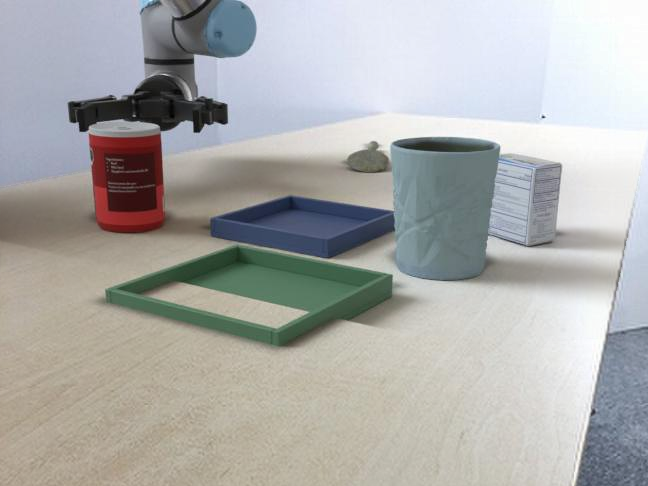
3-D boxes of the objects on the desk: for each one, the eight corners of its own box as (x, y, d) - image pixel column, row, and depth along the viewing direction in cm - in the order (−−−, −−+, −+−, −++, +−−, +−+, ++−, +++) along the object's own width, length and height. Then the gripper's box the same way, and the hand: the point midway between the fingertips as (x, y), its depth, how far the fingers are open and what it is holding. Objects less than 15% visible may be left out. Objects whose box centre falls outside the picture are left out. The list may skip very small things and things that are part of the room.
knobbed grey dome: (344, 175, 131) (386, 179, 131) (345, 153, 130) (388, 157, 129) (355, 148, 151) (392, 151, 151) (356, 129, 150) (394, 132, 149)
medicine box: (555, 242, 93) (565, 162, 90) (527, 247, 91) (535, 166, 88) (504, 227, 100) (511, 152, 96) (476, 231, 97) (482, 155, 94)
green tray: (106, 312, 70) (104, 289, 69) (237, 263, 83) (236, 244, 83) (278, 358, 61) (278, 332, 61) (392, 296, 75) (393, 274, 74)
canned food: (132, 213, 102) (126, 119, 98) (180, 224, 98) (176, 126, 94) (81, 225, 96) (72, 126, 92) (129, 237, 92) (122, 133, 88)
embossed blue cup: (504, 281, 80) (516, 151, 75) (398, 284, 78) (404, 152, 74) (470, 252, 89) (479, 135, 85) (376, 254, 87) (380, 135, 83)
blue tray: (210, 236, 93) (209, 218, 92) (289, 210, 105) (289, 194, 104) (327, 258, 86) (328, 239, 85) (398, 228, 98) (399, 211, 97)
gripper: (250, 128, 124) (244, 153, 104) (76, 127, 123) (36, 151, 103) (249, 75, 121) (242, 89, 102) (71, 73, 120) (29, 87, 100)
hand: (138, 121), depth 102 cm, fingers open, 13 cm apart
